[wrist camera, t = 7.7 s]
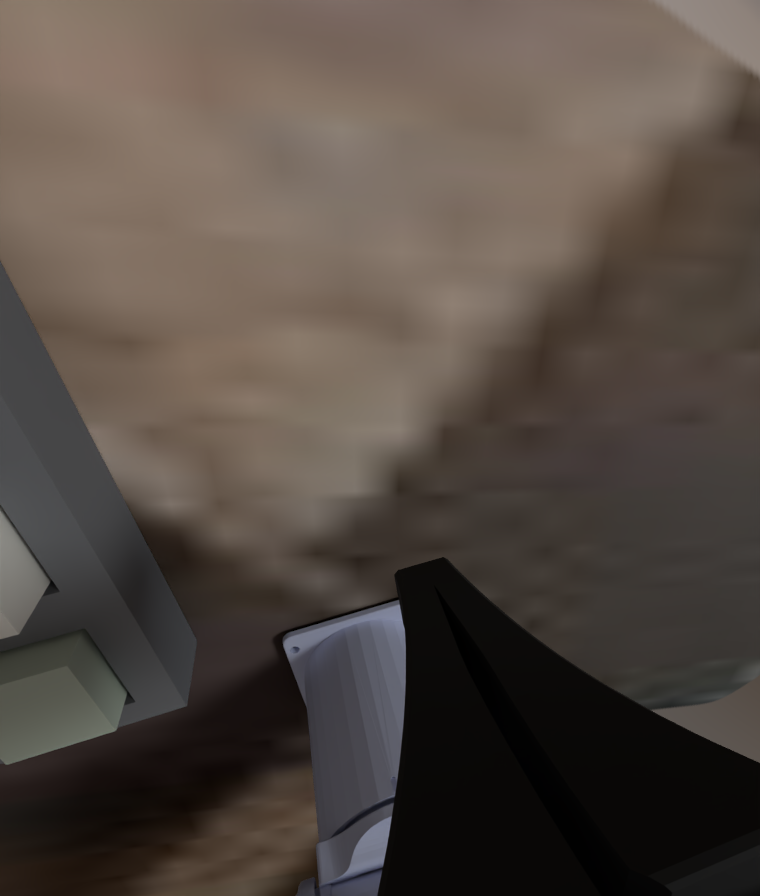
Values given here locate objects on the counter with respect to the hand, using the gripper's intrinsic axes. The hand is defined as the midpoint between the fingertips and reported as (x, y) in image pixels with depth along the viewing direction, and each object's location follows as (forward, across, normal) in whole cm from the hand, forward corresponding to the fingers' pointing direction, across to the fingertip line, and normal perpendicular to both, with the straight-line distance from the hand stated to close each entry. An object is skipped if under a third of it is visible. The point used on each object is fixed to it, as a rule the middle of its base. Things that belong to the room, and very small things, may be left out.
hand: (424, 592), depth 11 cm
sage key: (+8, +14, +5) cm, 17 cm away
